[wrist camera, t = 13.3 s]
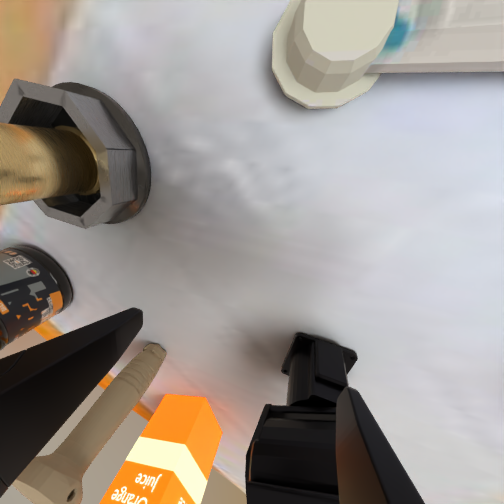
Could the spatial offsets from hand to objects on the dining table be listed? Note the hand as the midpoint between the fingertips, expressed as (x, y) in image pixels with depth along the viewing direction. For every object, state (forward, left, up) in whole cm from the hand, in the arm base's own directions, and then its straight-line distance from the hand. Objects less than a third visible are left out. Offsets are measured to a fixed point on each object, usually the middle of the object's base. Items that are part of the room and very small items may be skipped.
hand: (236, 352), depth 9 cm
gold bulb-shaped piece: (+3, +19, -11) cm, 22 cm away
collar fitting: (+3, +19, -12) cm, 23 cm away
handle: (-21, +12, -12) cm, 27 cm away
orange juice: (-33, +5, -12) cm, 36 cm away
